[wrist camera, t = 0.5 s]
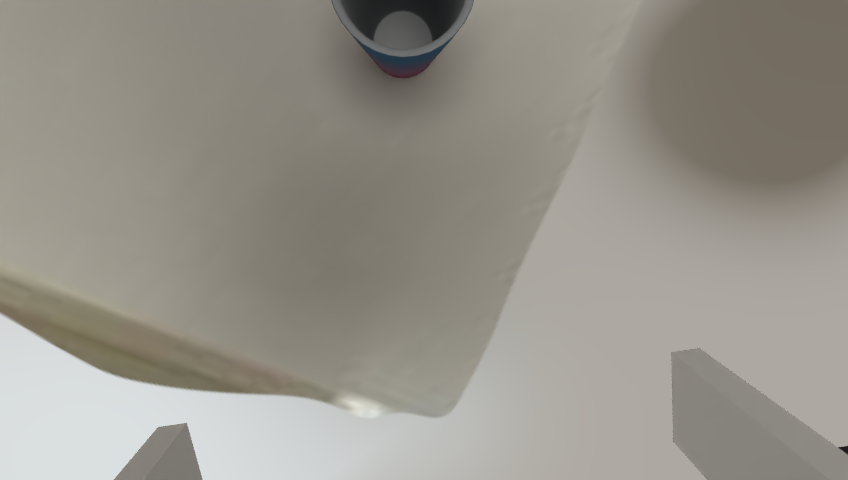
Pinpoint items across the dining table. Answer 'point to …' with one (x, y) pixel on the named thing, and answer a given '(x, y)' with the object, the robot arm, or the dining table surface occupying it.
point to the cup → (403, 30)
